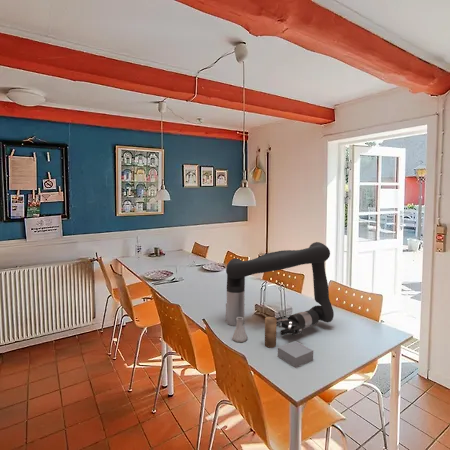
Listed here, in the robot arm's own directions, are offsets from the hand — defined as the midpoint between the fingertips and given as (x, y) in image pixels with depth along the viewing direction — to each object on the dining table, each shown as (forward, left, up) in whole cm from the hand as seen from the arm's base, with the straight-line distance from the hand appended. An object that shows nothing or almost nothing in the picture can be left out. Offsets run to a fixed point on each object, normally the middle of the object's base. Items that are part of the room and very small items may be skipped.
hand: (274, 329), depth 139 cm
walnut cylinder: (0, -2, -7) cm, 7 cm away
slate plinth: (+14, -1, -7) cm, 16 cm away
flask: (-12, -10, -7) cm, 17 cm away
